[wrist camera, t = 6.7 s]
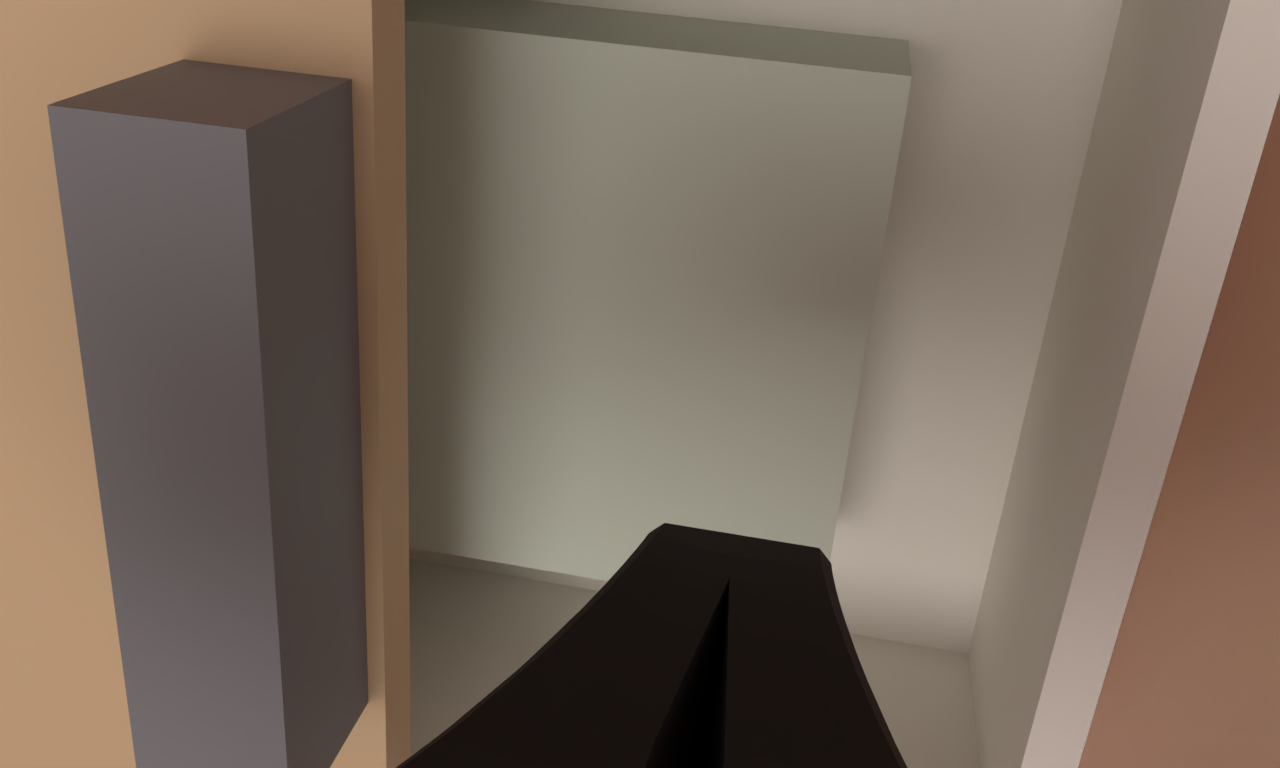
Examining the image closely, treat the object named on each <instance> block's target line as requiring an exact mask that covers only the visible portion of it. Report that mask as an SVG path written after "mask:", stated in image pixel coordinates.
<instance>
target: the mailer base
mask: <svg viewBox="0 0 1280 768" xmlns="http://www.w3.org/2000/svg"><path fill="white" fill-rule="evenodd" d="M1279 94H1280V0H405V111H406V235H407V359H408V483H409V608H410V732H411V756H412V755H413V754H415V753H416V752H417V751H419V750H420V749H421V748H423V747H424V746H425V745H427V744H428V743H429V742H431V741H432V740H433V739H435V738H436V737H437V736H438V735H440V734H441V733H442V732H444V731H445V730H446V729H447V728H449V727H450V726H451V725H452V724H454V723H455V722H456V721H457V720H458V719H460V718H461V717H462V716H463V715H464V714H465V713H467V712H468V711H469V710H470V709H471V708H473V707H474V706H475V705H476V704H477V703H479V702H480V701H481V700H482V699H483V698H485V697H486V696H487V695H488V694H489V693H490V692H492V691H493V690H494V689H495V688H496V687H498V686H499V685H500V684H501V683H502V682H504V681H505V680H506V679H507V678H508V677H510V676H511V675H512V674H513V673H514V672H515V671H517V670H518V669H519V668H520V667H521V666H522V665H523V664H524V663H525V662H527V661H528V660H529V659H530V658H531V657H532V656H533V655H534V654H535V653H536V652H537V651H538V650H539V649H540V648H541V647H542V646H544V645H545V644H546V643H547V642H548V641H549V640H550V639H551V638H552V637H553V636H554V635H555V634H556V633H557V632H558V631H559V630H560V629H561V628H562V627H563V626H564V625H565V624H566V623H567V622H568V621H569V620H571V619H572V618H573V617H574V616H575V615H576V614H577V613H578V612H579V611H580V610H581V609H582V608H583V607H584V606H585V605H586V604H587V603H588V602H589V601H590V600H591V598H592V597H593V596H594V595H595V594H596V593H597V592H598V591H599V590H600V589H601V588H602V587H603V586H604V585H605V584H606V583H607V582H608V581H609V579H610V578H611V577H612V576H613V575H614V574H615V573H616V572H617V571H618V570H619V568H620V567H621V566H622V565H623V564H624V563H625V562H626V560H627V559H628V558H629V557H630V556H631V555H632V553H633V552H634V551H635V550H636V549H637V548H638V546H639V545H640V544H641V543H642V541H643V540H644V539H645V537H646V536H647V535H648V534H649V533H650V532H651V531H653V530H654V529H656V528H657V527H659V526H660V525H662V524H663V523H669V524H675V525H681V526H687V527H693V528H700V529H706V530H712V531H718V532H724V533H730V534H737V535H743V536H749V537H755V538H761V539H767V540H773V541H780V542H786V543H792V544H798V545H804V546H810V547H816V548H820V549H821V551H822V552H823V553H824V555H825V556H826V557H827V559H828V560H829V561H830V562H831V565H832V573H833V578H834V582H835V587H836V591H837V595H838V598H839V602H840V606H841V609H842V612H843V615H844V618H845V621H846V624H847V627H848V630H849V633H850V636H851V639H852V641H853V644H854V647H855V650H856V653H857V655H858V658H859V660H860V663H861V665H862V668H863V670H864V673H865V675H866V678H867V680H868V683H869V685H870V687H871V690H872V692H873V694H874V696H875V699H876V701H877V703H878V705H879V708H880V710H881V712H882V714H883V717H884V719H885V721H886V723H887V726H888V728H889V730H890V732H891V735H892V737H893V739H894V741H895V743H896V745H897V747H898V749H899V751H900V753H901V755H902V758H903V760H904V762H905V764H906V766H907V768H1078V765H1079V762H1080V759H1081V755H1082V752H1083V749H1084V745H1085V742H1086V739H1087V735H1088V732H1089V729H1090V725H1091V722H1092V719H1093V715H1094V712H1095V709H1096V705H1097V702H1098V699H1099V695H1100V692H1101V689H1102V685H1103V682H1104V679H1105V675H1106V672H1107V669H1108V665H1109V662H1110V659H1111V655H1112V652H1113V649H1114V645H1115V642H1116V639H1117V635H1118V632H1119V629H1120V625H1121V622H1122V619H1123V615H1124V612H1125V609H1126V605H1127V602H1128V598H1129V595H1130V592H1131V588H1132V585H1133V582H1134V578H1135V575H1136V572H1137V568H1138V565H1139V562H1140V558H1141V555H1142V552H1143V548H1144V545H1145V542H1146V538H1147V535H1148V532H1149V528H1150V525H1151V522H1152V518H1153V515H1154V512H1155V508H1156V505H1157V502H1158V498H1159V495H1160V492H1161V488H1162V485H1163V482H1164V478H1165V475H1166V472H1167V468H1168V465H1169V462H1170V458H1171V455H1172V452H1173V448H1174V445H1175V442H1176V438H1177V435H1178V432H1179V428H1180V425H1181V422H1182V418H1183V415H1184V412H1185V408H1186V405H1187V401H1188V398H1189V395H1190V391H1191V388H1192V385H1193V381H1194V378H1195V375H1196V371H1197V368H1198V365H1199V361H1200V358H1201V355H1202V351H1203V348H1204V345H1205V341H1206V338H1207V335H1208V331H1209V328H1210V325H1211V321H1212V318H1213V315H1214V311H1215V308H1216V305H1217V301H1218V298H1219V295H1220V291H1221V288H1222V285H1223V281H1224V278H1225V275H1226V271H1227V268H1228V265H1229V261H1230V258H1231V255H1232V251H1233V248H1234V245H1235V241H1236V238H1237V235H1238V231H1239V228H1240V225H1241V221H1242V218H1243V215H1244V211H1245V208H1246V204H1247V201H1248V198H1249V194H1250V191H1251V188H1252V184H1253V181H1254V178H1255V174H1256V171H1257V168H1258V164H1259V161H1260V158H1261V154H1262V151H1263V148H1264V144H1265V141H1266V138H1267V134H1268V131H1269V128H1270V124H1271V121H1272V118H1273V114H1274V111H1275V108H1276V104H1277V101H1278V98H1279Z"/></svg>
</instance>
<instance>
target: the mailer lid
mask: <svg viewBox="0 0 1280 768" xmlns="http://www.w3.org/2000/svg"><path fill="white" fill-rule="evenodd" d="M409 757H411V732H410V608H409V483H408V359H407V235H406V111H405V0H0V768H396V767H397V766H398V765H400V764H401V763H403V762H404V761H405V760H407V759H408V758H409Z"/></svg>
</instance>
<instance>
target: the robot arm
mask: <svg viewBox="0 0 1280 768" xmlns="http://www.w3.org/2000/svg"><path fill="white" fill-rule="evenodd" d="M396 768H907V766H906V764H905V762H904V760H903V758H902V755H901V753H900V751H899V749H898V747H897V745H896V743H895V741H894V739H893V737H892V735H891V732H890V730H889V728H888V726H887V723H886V721H885V719H884V717H883V714H882V712H881V710H880V708H879V705H878V703H877V701H876V699H875V696H874V694H873V692H872V690H871V687H870V685H869V683H868V680H867V678H866V675H865V673H864V670H863V668H862V665H861V663H860V660H859V658H858V655H857V653H856V650H855V647H854V644H853V641H852V639H851V636H850V633H849V630H848V627H847V624H846V621H845V618H844V615H843V612H842V609H841V606H840V602H839V598H838V595H837V591H836V587H835V582H834V578H833V573H832V565H831V562H830V561H829V560H828V559H827V557H826V556H825V555H824V553H823V552H822V551H821V549H820V548H816V547H810V546H804V545H798V544H792V543H786V542H780V541H773V540H767V539H761V538H755V537H749V536H743V535H737V534H730V533H724V532H718V531H712V530H706V529H700V528H693V527H687V526H681V525H675V524H669V523H663V524H662V525H660V526H659V527H657V528H656V529H654V530H653V531H651V532H650V533H649V534H648V535H647V536H646V537H645V539H644V540H643V541H642V543H641V544H640V545H639V546H638V548H637V549H636V550H635V551H634V552H633V553H632V555H631V556H630V557H629V558H628V559H627V560H626V562H625V563H624V564H623V565H622V566H621V567H620V568H619V570H618V571H617V572H616V573H615V574H614V575H613V576H612V577H611V578H610V579H609V581H608V582H607V583H606V584H605V585H604V586H603V587H602V588H601V589H600V590H599V591H598V592H597V593H596V594H595V595H594V596H593V597H592V598H591V600H590V601H589V602H588V603H587V604H586V605H585V606H584V607H583V608H582V609H581V610H580V611H579V612H578V613H577V614H576V615H575V616H574V617H573V618H572V619H571V620H569V621H568V622H567V623H566V624H565V625H564V626H563V627H562V628H561V629H560V630H559V631H558V632H557V633H556V634H555V635H554V636H553V637H552V638H551V639H550V640H549V641H548V642H547V643H546V644H545V645H544V646H542V647H541V648H540V649H539V650H538V651H537V652H536V653H535V654H534V655H533V656H532V657H531V658H530V659H529V660H528V661H527V662H525V663H524V664H523V665H522V666H521V667H520V668H519V669H518V670H517V671H515V672H514V673H513V674H512V675H511V676H510V677H508V678H507V679H506V680H505V681H504V682H502V683H501V684H500V685H499V686H498V687H496V688H495V689H494V690H493V691H492V692H490V693H489V694H488V695H487V696H486V697H485V698H483V699H482V700H481V701H480V702H479V703H477V704H476V705H475V706H474V707H473V708H471V709H470V710H469V711H468V712H467V713H465V714H464V715H463V716H462V717H461V718H460V719H458V720H457V721H456V722H455V723H454V724H452V725H451V726H450V727H449V728H447V729H446V730H445V731H444V732H442V733H441V734H440V735H438V736H437V737H436V738H435V739H433V740H432V741H431V742H429V743H428V744H427V745H425V746H424V747H423V748H421V749H420V750H419V751H417V752H416V753H415V754H413V755H412V756H411V757H409V758H408V759H407V760H405V761H404V762H403V763H401V764H400V765H398V766H397V767H396Z"/></svg>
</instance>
